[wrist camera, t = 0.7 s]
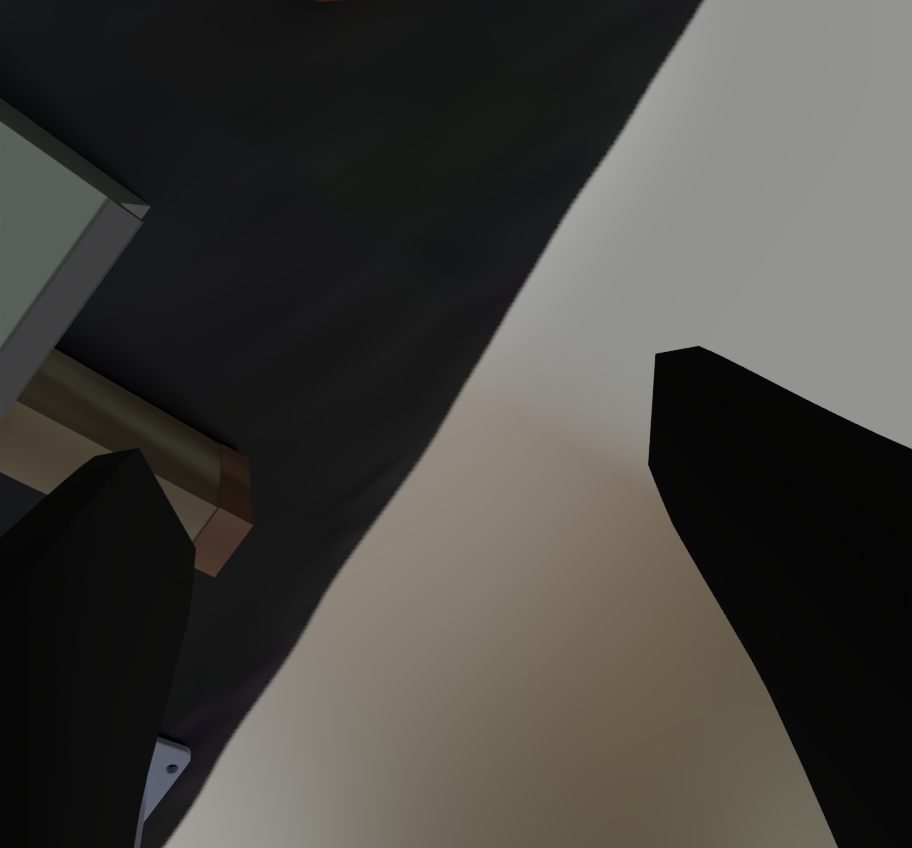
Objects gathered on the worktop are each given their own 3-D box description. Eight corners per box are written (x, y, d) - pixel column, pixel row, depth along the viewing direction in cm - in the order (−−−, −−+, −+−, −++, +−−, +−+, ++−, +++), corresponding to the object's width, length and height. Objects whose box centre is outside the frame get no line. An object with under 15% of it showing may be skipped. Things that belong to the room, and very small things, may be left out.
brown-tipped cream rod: (218, 500, 26) (214, 577, 20) (-182, 285, 20) (-341, 312, 14) (248, 459, 26) (253, 525, 20) (-144, 230, 20) (-290, 236, 14)
